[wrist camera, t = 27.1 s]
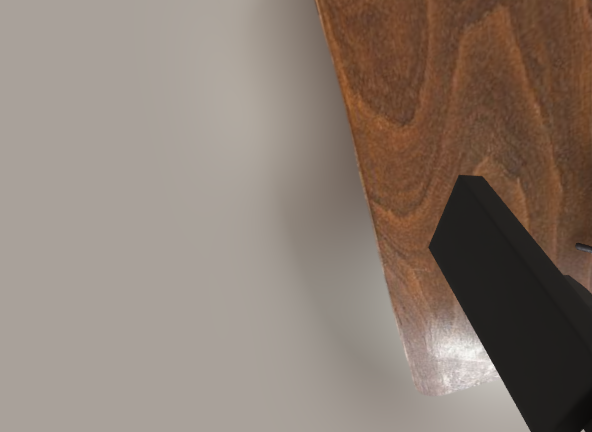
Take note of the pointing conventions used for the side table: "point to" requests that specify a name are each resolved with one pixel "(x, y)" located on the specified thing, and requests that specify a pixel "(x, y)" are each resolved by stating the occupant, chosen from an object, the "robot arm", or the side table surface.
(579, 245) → the glasses case
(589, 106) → the side table surface
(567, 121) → the side table surface
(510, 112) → the side table surface
